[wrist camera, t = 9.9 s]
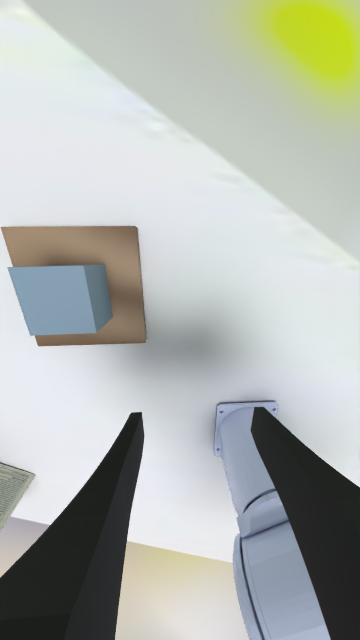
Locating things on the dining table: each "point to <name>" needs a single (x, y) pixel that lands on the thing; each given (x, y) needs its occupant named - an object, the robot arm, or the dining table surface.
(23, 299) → the slate blue cube
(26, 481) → the skincare box
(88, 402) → the dining table surface
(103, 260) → the board
